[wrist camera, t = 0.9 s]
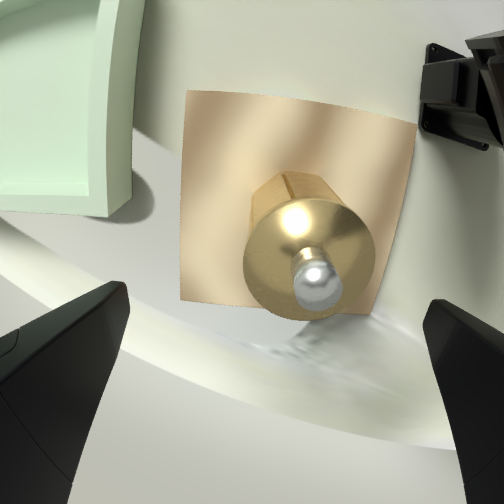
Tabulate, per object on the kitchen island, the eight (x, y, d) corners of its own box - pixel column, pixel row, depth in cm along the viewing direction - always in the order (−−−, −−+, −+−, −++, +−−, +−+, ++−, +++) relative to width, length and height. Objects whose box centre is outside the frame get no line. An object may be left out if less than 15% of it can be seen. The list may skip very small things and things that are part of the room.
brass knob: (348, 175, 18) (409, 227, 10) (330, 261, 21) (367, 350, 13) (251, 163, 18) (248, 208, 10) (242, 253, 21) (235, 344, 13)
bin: (151, -31, 13) (131, -53, 10) (132, 197, 21) (108, 217, 17) (-16, 18, 13) (-46, 15, 9) (-22, 193, 20) (-51, 208, 16)
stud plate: (407, 122, 18) (451, 131, 13) (364, 303, 24) (386, 349, 19) (191, 91, 18) (168, 85, 13) (184, 289, 24) (168, 336, 19)
